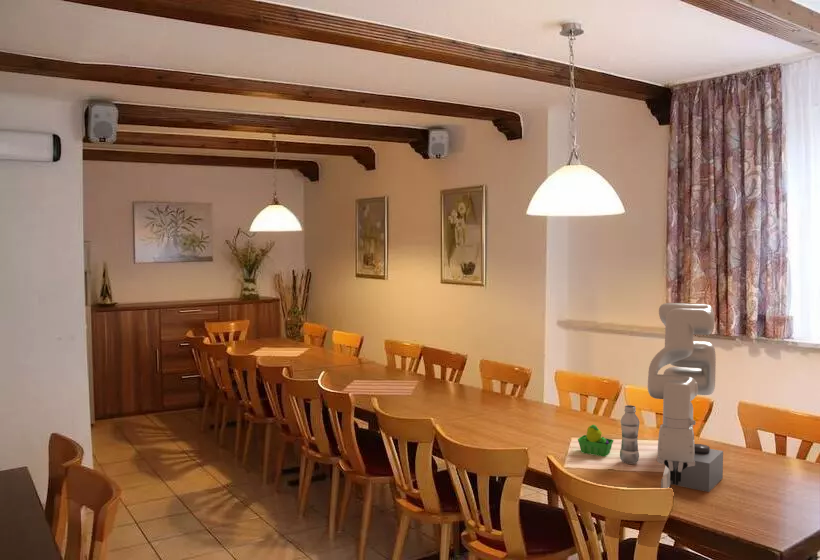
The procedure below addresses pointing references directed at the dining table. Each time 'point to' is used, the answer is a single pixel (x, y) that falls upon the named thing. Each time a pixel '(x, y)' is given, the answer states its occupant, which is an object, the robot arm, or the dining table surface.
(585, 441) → the fruit basket
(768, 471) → the dining table surface
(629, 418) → the plastic bottle
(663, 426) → the robot arm
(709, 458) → the grey block
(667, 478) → the door
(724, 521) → the dining table surface
